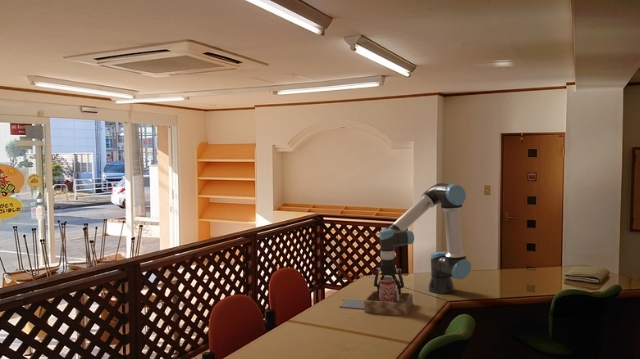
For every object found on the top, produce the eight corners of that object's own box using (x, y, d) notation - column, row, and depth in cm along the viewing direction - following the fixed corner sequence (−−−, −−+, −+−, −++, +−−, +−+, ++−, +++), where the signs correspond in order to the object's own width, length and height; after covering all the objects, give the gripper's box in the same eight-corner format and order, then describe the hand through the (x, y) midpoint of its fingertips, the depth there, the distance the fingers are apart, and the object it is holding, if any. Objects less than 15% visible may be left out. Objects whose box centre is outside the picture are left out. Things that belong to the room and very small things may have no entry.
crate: (412, 304, 261) (412, 293, 261) (406, 315, 242) (405, 303, 242) (373, 301, 269) (373, 290, 269) (364, 312, 250) (363, 300, 250)
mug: (386, 307, 249) (385, 282, 248) (376, 302, 256) (375, 278, 256) (405, 302, 255) (404, 278, 254) (395, 298, 263) (394, 274, 262)
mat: (370, 301, 267) (370, 300, 267) (364, 309, 254) (364, 308, 254) (347, 300, 272) (347, 299, 272) (339, 307, 259) (339, 306, 259)
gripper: (409, 257, 254) (410, 299, 255) (369, 256, 262) (371, 296, 263) (406, 260, 247) (408, 303, 248) (366, 259, 255) (368, 300, 256)
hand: (389, 299), depth 256 cm, fingers closed on mug, 9 cm apart
